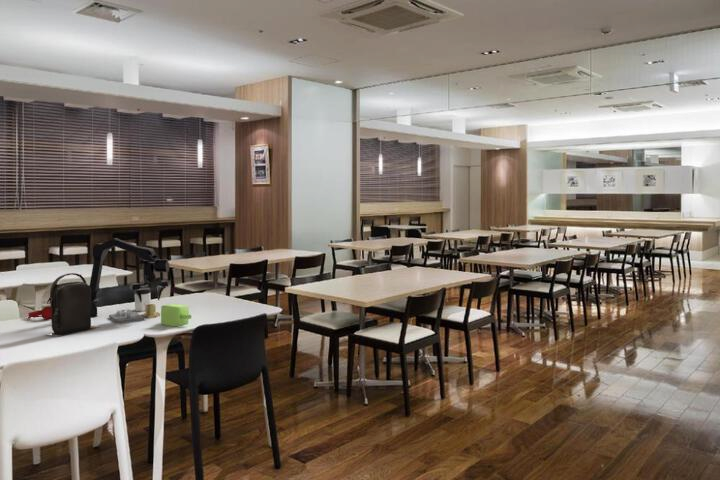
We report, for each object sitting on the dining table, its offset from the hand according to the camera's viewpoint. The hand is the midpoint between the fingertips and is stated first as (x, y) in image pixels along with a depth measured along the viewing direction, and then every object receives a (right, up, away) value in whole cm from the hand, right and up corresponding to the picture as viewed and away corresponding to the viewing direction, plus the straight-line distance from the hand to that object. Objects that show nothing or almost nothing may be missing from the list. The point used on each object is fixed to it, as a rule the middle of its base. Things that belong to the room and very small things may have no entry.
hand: (149, 301), depth 306 cm
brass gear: (0, -8, +1) cm, 8 cm away
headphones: (-55, -9, +1) cm, 56 cm away
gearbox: (+20, -10, -18) cm, 29 cm away
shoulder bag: (-25, -11, -31) cm, 42 cm away
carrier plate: (-10, -9, -6) cm, 14 cm away
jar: (-10, -7, +18) cm, 22 cm away
